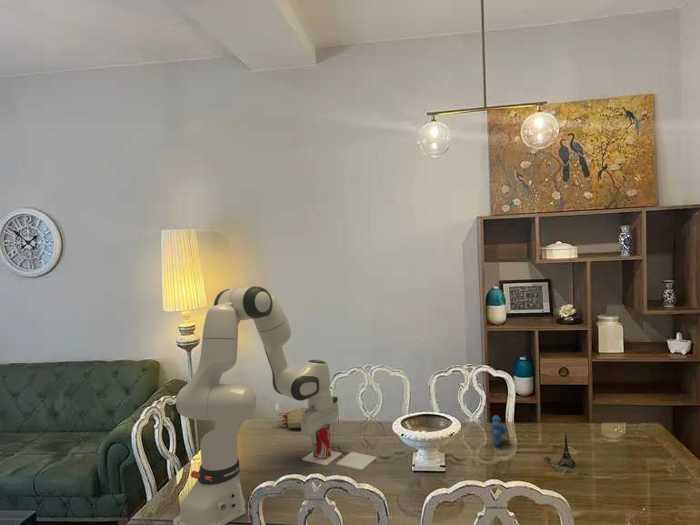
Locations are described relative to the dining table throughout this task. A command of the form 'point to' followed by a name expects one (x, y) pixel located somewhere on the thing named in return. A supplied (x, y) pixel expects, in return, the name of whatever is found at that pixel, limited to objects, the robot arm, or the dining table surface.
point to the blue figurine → (497, 430)
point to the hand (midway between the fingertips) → (321, 438)
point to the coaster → (356, 461)
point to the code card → (322, 461)
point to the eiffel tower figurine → (564, 461)
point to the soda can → (322, 443)
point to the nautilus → (292, 418)
